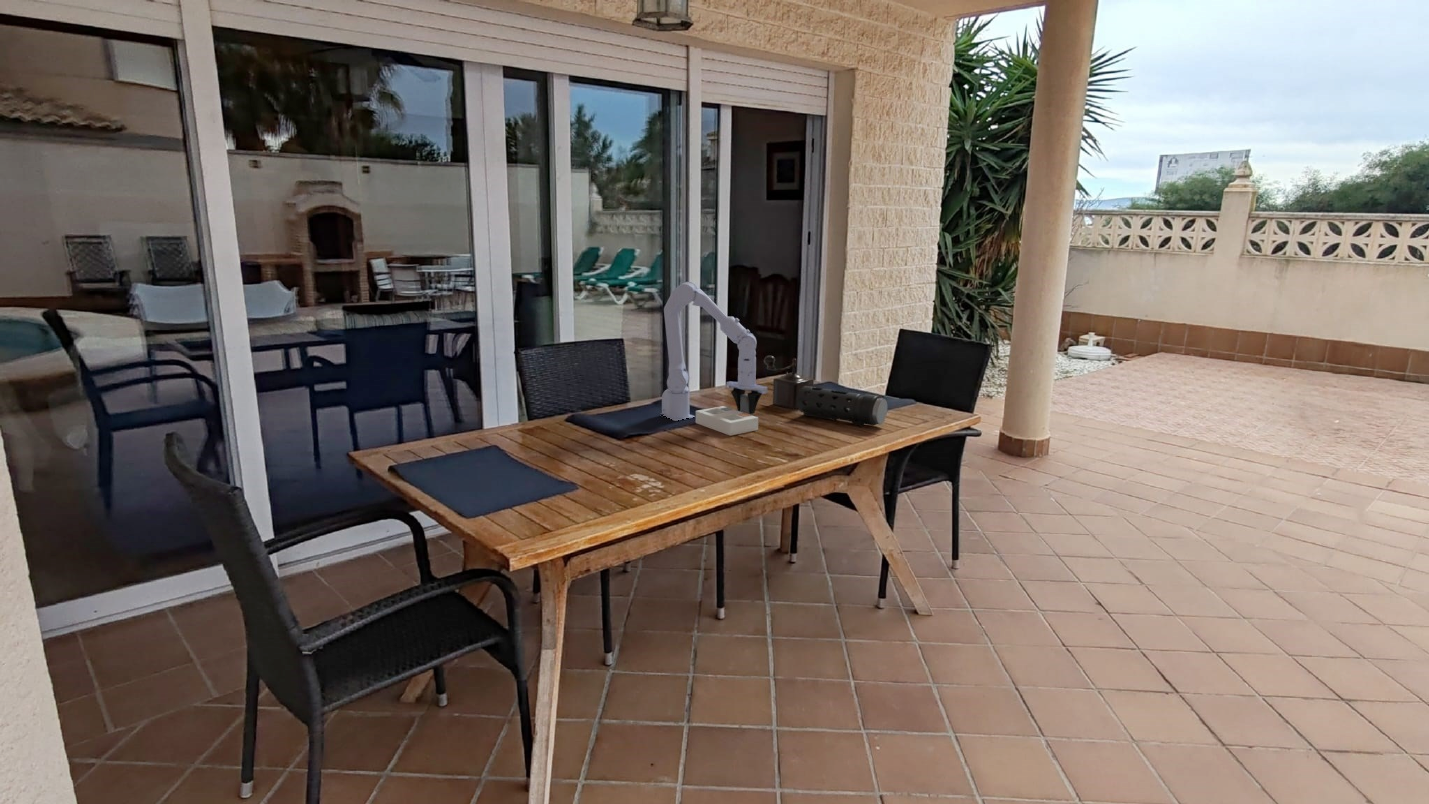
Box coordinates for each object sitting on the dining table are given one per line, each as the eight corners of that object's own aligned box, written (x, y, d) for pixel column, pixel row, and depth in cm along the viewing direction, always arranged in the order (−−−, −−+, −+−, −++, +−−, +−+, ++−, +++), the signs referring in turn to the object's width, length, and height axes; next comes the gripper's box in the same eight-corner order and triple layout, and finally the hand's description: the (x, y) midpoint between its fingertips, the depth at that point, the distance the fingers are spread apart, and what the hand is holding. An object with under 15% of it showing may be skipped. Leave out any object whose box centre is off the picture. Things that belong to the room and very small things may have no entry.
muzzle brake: (810, 412, 260) (811, 382, 257) (887, 425, 244) (889, 394, 241) (796, 418, 252) (797, 387, 250) (875, 432, 236) (876, 399, 234)
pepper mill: (790, 399, 277) (792, 350, 273) (813, 405, 269) (815, 354, 265) (760, 406, 267) (761, 355, 263) (783, 412, 259) (784, 360, 255)
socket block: (695, 422, 245) (695, 409, 244) (722, 417, 251) (722, 405, 250) (730, 435, 231) (730, 422, 230) (758, 429, 238) (758, 416, 236)
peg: (737, 419, 250) (737, 395, 248) (746, 417, 252) (747, 393, 251) (745, 421, 247) (745, 397, 245) (754, 419, 249) (755, 395, 247)
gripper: (721, 370, 247) (721, 411, 250) (759, 376, 239) (758, 418, 242) (733, 367, 252) (733, 407, 256) (771, 372, 244) (770, 413, 248)
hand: (746, 412), depth 249 cm, fingers closed on peg, 4 cm apart
